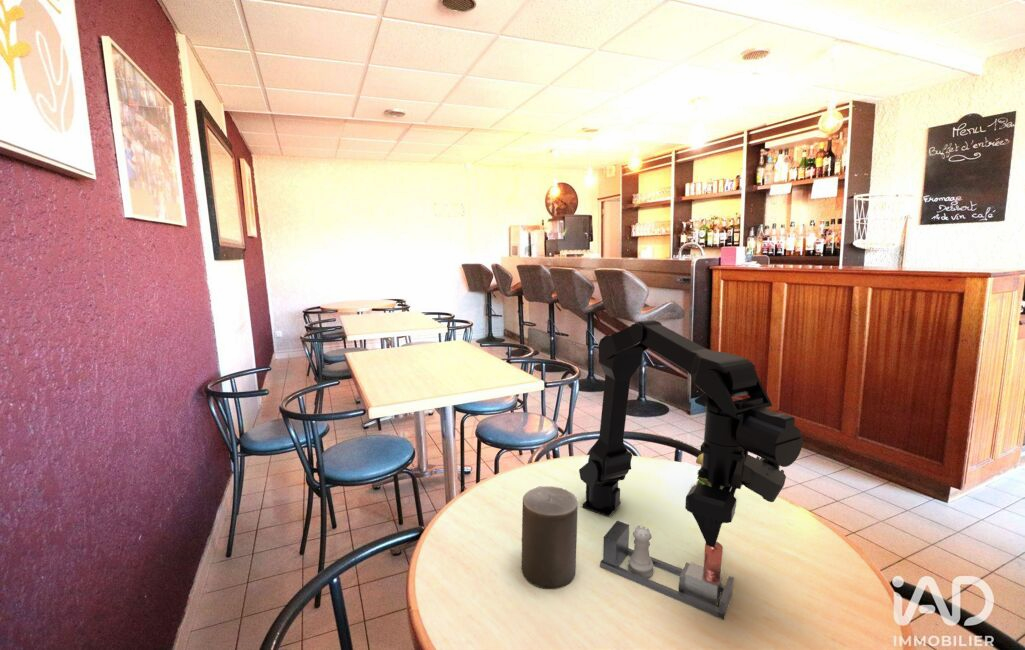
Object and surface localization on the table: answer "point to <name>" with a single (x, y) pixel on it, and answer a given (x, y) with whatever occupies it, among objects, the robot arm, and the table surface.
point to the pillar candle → (549, 536)
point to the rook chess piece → (641, 553)
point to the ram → (704, 577)
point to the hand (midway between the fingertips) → (717, 530)
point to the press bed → (619, 549)
